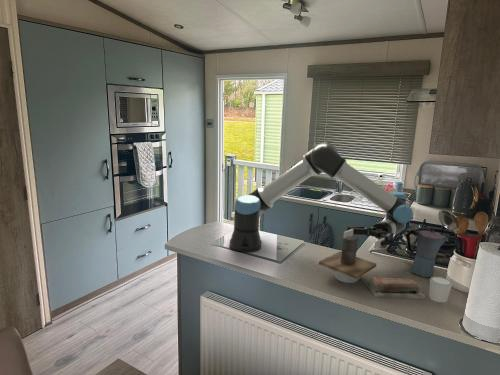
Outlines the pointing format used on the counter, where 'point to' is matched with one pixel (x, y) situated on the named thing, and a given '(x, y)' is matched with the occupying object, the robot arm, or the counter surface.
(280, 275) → the counter surface
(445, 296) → the white cup
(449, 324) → the counter surface
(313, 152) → the robot arm
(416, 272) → the moka pot
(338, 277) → the ramekin
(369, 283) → the packaged product
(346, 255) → the board with upright post
